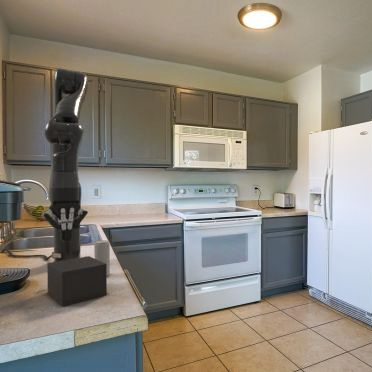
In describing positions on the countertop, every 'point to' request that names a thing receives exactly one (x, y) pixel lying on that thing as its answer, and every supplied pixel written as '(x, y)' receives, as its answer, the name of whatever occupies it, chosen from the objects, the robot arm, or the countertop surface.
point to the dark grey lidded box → (76, 280)
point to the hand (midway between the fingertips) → (65, 241)
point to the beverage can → (103, 253)
